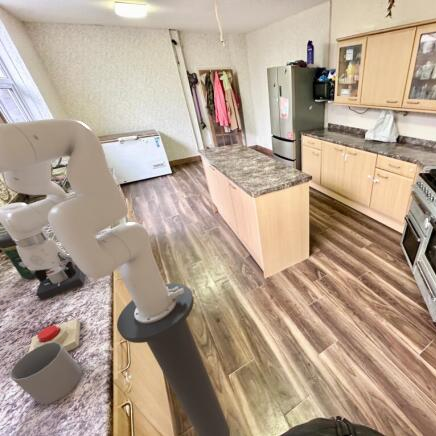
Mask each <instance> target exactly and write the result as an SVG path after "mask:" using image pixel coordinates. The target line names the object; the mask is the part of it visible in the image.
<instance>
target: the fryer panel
mask: <svg viewBox="0 0 436 436" xmlns="http://www.w3.org/2000/svg"><path fill="white" fill-rule="evenodd" d="M74 270H75V271H76V274H75V275H74V276H73V277H72V278H68V277H67V279H65V280H64V281H62V282H60V283H56V284H53V283H52V282H51V280H50V279H49V278H48V277H47V278H46V279H45V280H44V281H43V282H40V281H39V285H38V287H37V291H36V293H35V295H36V296H37V298H38V299H39V300H40V301H44V300H46V299H49V298H52V297H55V296H57V295H60V294H62V293H66V292H68V291H71V290H73V289H76V288H79V287H81V286H84V284H85V274H84V273H83V272H82V271H81V270H80V269H79V268H78V267H77V268H74Z"/></svg>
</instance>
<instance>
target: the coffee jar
mask: <svg viewBox="0 0 436 436" xmlns="http://www.w3.org/2000/svg"><path fill="white" fill-rule="evenodd" d="M16 247H17V244H16V243H15V242H14V241H13V240H12V237H11V236H10V235H9V233H8V232H7V233H6V234H4V235H3V236H2V237H0V250H1V251H2V252H3V253H4V254H5V255H6V257H7V258H8V259H9V261H10V262H11V264H12V265H13V266H14V269H16V271H17V273H18V274H19V275H20V277H21V278H22V279H25V280H26V279H33V278H37V277H36V276H35V275H34V274H32V273H31V272H30V271H28V270H26V269H25V268H24V267H22V266H20V265H19V263H20V262H22V259H21V258H20V256H19V254H18V251H17V248H16ZM44 270H45V271H46V272H48V269H44Z"/></svg>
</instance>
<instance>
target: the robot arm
mask: <svg viewBox="0 0 436 436" xmlns="http://www.w3.org/2000/svg"><path fill="white" fill-rule="evenodd" d="M67 157H69V158H68V161H67V164H66V178H67V179H66V180H67V181H68V183H69V185H70V186H71V188H72V189H73V191H74V195H75V196H74V197H73V198H70V199H69V196H68V193H66V191H65V190H64V188H62V186H60V185H59V184H58V183H57V182H54V181H53V180H52V161H55V160H57V159H62V158H67ZM0 174H3V175H4V182H5V184H6V186H7V187H8V188H9V189H10V190H12V191H14V192H17V193H19V194H24V195H32V196H33V195H34V196H36V195H37V196H44V195H45V196H46V198H44V199H41V200H38V201H35V202H31V203H29V204H27V203H26V202H11V203H8V204H4V205H2V206H0V225H2V227H3V228H4V229H5V230H6V232H7V233H9V235H10V236H11V237H12V240H13V241H14V242H15V243H16V244H17V247H16V248H17V251H18V254H19V256H20V258H21V259H22V262H20V263H19V265H20V266H22V267H24V268H25V269H26V270H28V271H30V272H31V273H32V274H34V275H35V276H36V277H35V278H36V279H37V280H38V281H39V283H40V282H43V281H44V280H45V279H47V278H48V276H47V275H46V273H47V271H45V270H44V269H47V270H52V269H54V268H58V267H61V268H63V270H64V272H65V274H66V275H67V277H68V278H72V277H73V276H74V275H75V274H76V271H75V270H74V269H75V268H74V267H73V265H74V264H75V266H76V267H77V268H79V269H80V270H81V271H82V272H83V273H84V276H87V277H89V278H91V279H96V280H98V279H103V278H105V277H107V276H109V275H111V274H113V273H114V272H116V270H118V273H119V276H120V278H121V280H122V282H123V284H124V286H125V288H126V289H127V292H128V294H129V296H130V298H131V300H133V301H134V303H135V305H136V307H137V308H136V309H135V312H134V316H135V318H136V320H137V321H138V322H140V323H152V322H155V321H158V320H160V319H162V318H164V317H165V316H167V315H168V314H169V313H170V312H171V311H172V310H173V309H174V307H175V305H176V302H177V299H176V297H177V296H179V295H182V294H184V293H185V292H184V290H183V288H181V289H179V288H178V286H177V287H175V288H173V289H169V290H168V287H167V286H165V284H166V283H165V281H164V279H163V276H162V274H161V271H160V269H159V265H158V264H157V261H156V259H155V256H154V253H153V249H152V243H151V242H152V241H151V237H150V234H149V232H148V230H147V229H146V228H145V226H144V225H142V224H141V223H138V222H134V221H128V222H127V221H126V222H122V223H120V224H119V225H116V226H114V225H115V224H117V223H119V222H120V221H122V220H123V219H125V218H126V217H127V215H128V213H129V207H128V204H127V202H126V200H125V198H124V195H123V194H122V192H121V190H120V187H119V186H118V184H117V182H116V179H115V178H114V176H113V173H112V172H111V169H110V168H109V165H108V161H107V158H106V154H105V150H104V147H103V145H102V142H101V140H100V139H99V137H98V135H97V133H95V131H93V129H91V127H89V126H88V125H87V124H85V123H84V122H82V121H79V120H77V119H71V118H48V119H36V120H30V121H28V120H27V121H19V122H18V121H17V122H7V123H6V122H5V123H0ZM48 225H49V227H50V228H51V231H52V232H54V233H53V234H54V236H55V238H56V237H57V238H58V240H59V241H60V242H61V243H60V242H59V241H58V240H57V241H58V242H59V243H60V245H61V244H62V245H63V246H62V245H61V246H62V248H63V247H64V248H65V249H64V248H63V249H64V251H65V250H66V251H67V253H68V254H69V255H68V254H67V253H65V252H66V251H65V252H64V251H63V250H62V249H61V247H60V246H59V244H58V243H57V242H56V241H55V240H54V239H52V237H50V236H49V234H48V233H47V232H46V230H45V229H44V227H45V226H46V227H47V226H48ZM112 226H114V227H112ZM110 227H111V228H110ZM108 228H110V229H109V230H107V231H105V230H106V229H108ZM102 231H105V232H103V233H102V234H100V235H98V234H99V233H100V232H102ZM57 238H56V239H57Z"/></svg>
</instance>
